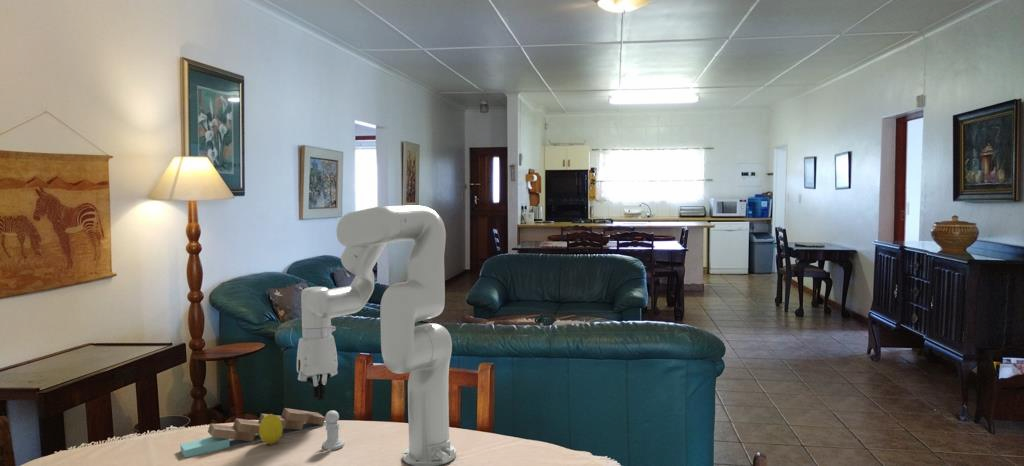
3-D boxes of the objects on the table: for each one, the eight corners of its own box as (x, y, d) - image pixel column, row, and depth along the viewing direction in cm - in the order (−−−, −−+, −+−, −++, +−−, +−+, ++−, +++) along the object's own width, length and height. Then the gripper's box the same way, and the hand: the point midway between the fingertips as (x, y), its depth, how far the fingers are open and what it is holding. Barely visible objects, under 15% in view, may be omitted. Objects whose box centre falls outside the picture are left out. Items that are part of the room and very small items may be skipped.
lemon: (275, 450, 157) (274, 418, 157) (254, 448, 158) (253, 417, 158) (287, 441, 163) (286, 410, 162) (267, 440, 164) (266, 409, 163)
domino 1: (255, 433, 163) (215, 428, 157) (253, 441, 162) (212, 437, 156) (249, 428, 166) (210, 423, 160) (247, 435, 166) (207, 431, 160)
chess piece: (320, 451, 156) (319, 414, 156) (324, 442, 162) (323, 407, 161) (342, 450, 157) (341, 413, 156) (346, 441, 162) (345, 406, 162)
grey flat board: (333, 424, 175) (333, 423, 175) (223, 450, 157) (223, 449, 157) (324, 418, 180) (324, 417, 180) (217, 443, 162) (216, 442, 162)
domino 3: (303, 422, 170) (267, 418, 164) (301, 430, 170) (264, 426, 164) (297, 417, 174) (261, 413, 168) (295, 424, 174) (258, 421, 168)
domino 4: (325, 417, 174) (290, 412, 168) (323, 424, 174) (287, 420, 168) (318, 412, 178) (283, 408, 172) (316, 420, 177) (281, 415, 172)
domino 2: (279, 428, 166) (241, 423, 160) (277, 435, 166) (238, 431, 160) (273, 422, 170) (235, 418, 164) (270, 430, 170) (233, 426, 164)
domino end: (229, 438, 159) (184, 450, 152) (229, 446, 159) (185, 458, 153) (223, 433, 163) (180, 444, 156) (224, 440, 163) (180, 452, 157)
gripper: (337, 326, 182) (339, 390, 183) (284, 334, 172) (286, 401, 173) (348, 330, 176) (350, 396, 177) (294, 338, 167) (296, 408, 168)
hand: (318, 398), depth 175 cm, fingers closed
